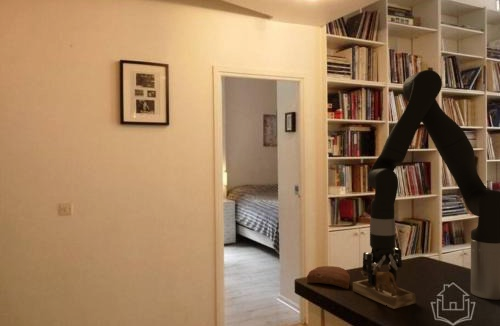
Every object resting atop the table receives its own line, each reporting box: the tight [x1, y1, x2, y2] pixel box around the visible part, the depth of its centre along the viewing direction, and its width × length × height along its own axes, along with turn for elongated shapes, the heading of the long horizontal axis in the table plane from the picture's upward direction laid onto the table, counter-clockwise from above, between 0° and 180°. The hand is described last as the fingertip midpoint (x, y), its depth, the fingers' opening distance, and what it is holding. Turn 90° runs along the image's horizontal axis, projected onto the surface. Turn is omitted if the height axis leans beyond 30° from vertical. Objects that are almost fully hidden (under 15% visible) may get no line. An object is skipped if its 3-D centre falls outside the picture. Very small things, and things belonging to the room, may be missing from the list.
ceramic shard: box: [306, 265, 351, 290], centre depth 138 cm, size 15×6×15 cm
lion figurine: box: [360, 267, 404, 296], centre depth 120 cm, size 15×5×9 cm, turn 30°
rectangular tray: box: [352, 278, 416, 310], centre depth 121 cm, size 9×17×3 cm, turn 27°
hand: (382, 283), depth 121 cm, fingers open, 8 cm apart
